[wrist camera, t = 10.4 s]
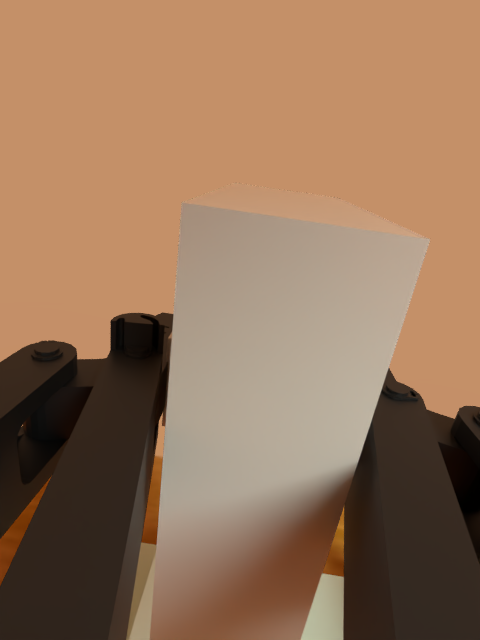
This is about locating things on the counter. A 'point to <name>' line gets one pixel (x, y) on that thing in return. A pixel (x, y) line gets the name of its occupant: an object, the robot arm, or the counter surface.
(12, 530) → the counter surface
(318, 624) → the slotted rack base
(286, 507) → the beige rectangular block
